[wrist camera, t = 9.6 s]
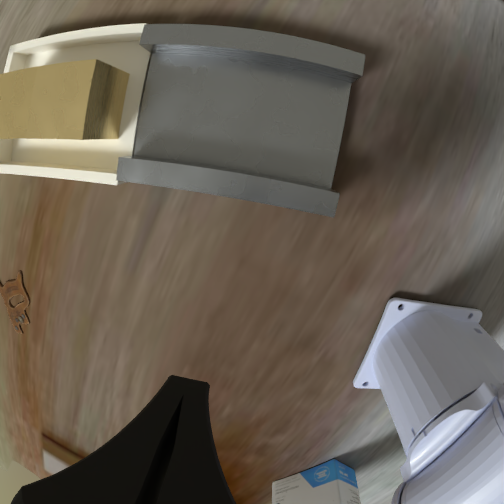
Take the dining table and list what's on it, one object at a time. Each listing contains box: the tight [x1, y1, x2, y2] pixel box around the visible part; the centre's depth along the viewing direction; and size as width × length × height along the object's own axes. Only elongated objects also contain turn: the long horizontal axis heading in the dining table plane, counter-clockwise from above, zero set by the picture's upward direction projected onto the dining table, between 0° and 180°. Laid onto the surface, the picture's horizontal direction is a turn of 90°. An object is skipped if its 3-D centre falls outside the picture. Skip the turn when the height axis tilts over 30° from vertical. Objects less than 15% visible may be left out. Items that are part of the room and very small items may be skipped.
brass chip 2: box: [26, 59, 130, 140], centre depth 13 cm, size 4×4×4 cm
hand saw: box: [0, 270, 30, 334], centre depth 24 cm, size 24×5×1 cm, turn 5°
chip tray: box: [0, 23, 152, 185], centre depth 14 cm, size 11×9×2 cm
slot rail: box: [116, 24, 365, 217], centre depth 14 cm, size 11×8×3 cm
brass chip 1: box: [0, 66, 38, 139], centre depth 13 cm, size 4×4×4 cm
